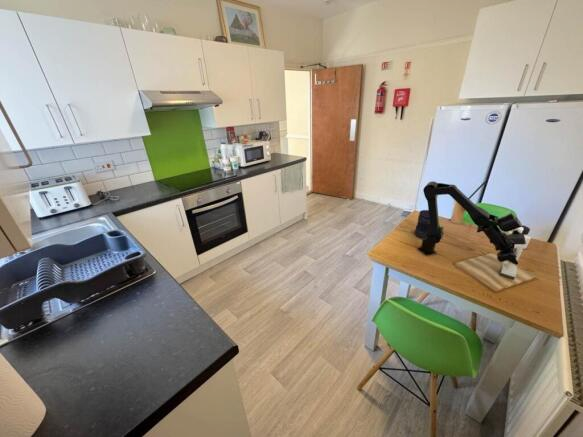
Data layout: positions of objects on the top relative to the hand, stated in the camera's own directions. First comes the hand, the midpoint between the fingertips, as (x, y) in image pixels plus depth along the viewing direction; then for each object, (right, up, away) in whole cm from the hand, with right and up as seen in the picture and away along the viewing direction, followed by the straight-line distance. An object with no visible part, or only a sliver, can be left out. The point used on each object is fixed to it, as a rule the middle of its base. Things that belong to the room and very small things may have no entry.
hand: (516, 262), depth 109 cm
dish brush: (-1, -6, +4) cm, 7 cm away
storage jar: (-22, +10, +38) cm, 45 cm away
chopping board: (-5, -6, +7) cm, 10 cm away
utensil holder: (+9, +18, +52) cm, 56 cm away
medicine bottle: (+23, +5, +26) cm, 35 cm away
